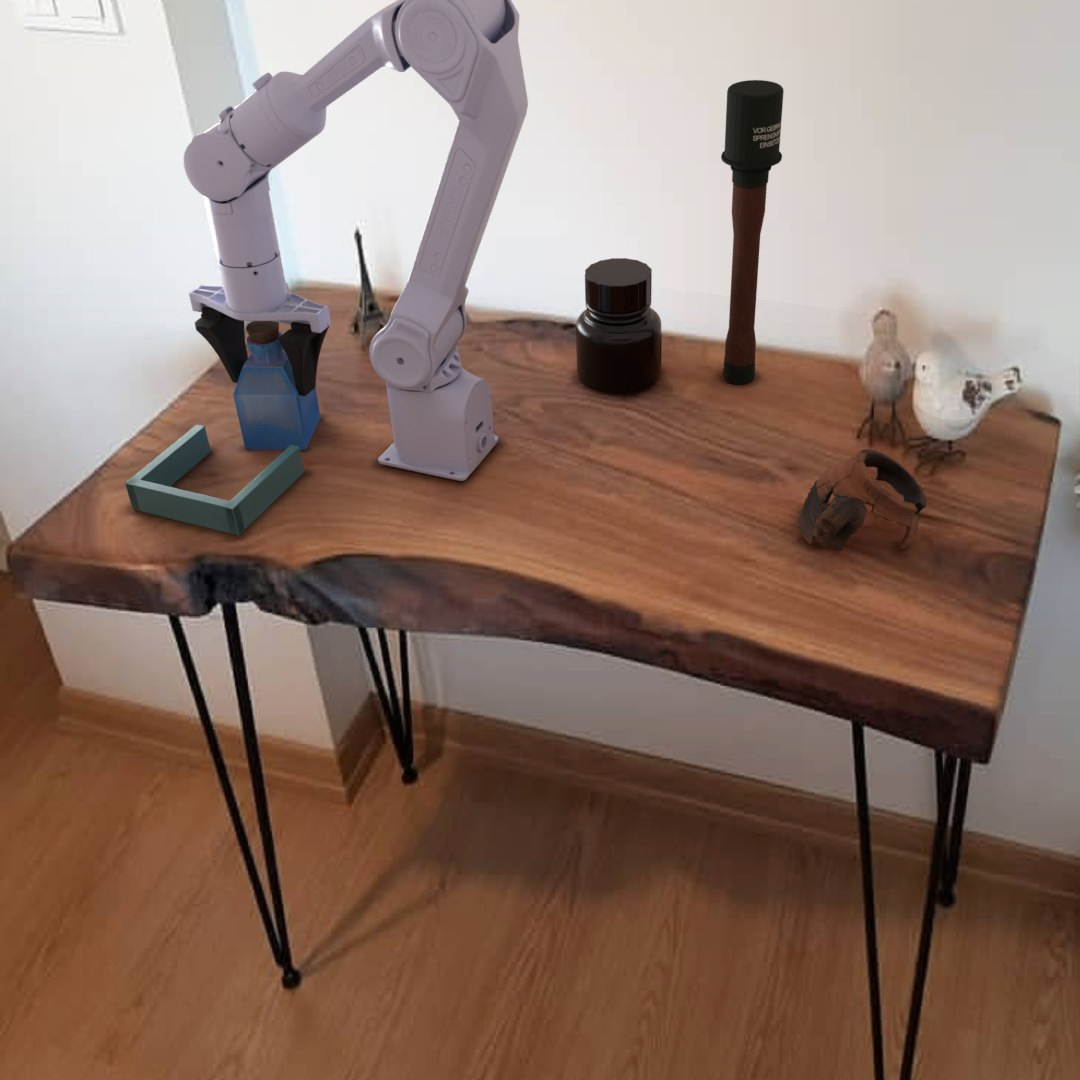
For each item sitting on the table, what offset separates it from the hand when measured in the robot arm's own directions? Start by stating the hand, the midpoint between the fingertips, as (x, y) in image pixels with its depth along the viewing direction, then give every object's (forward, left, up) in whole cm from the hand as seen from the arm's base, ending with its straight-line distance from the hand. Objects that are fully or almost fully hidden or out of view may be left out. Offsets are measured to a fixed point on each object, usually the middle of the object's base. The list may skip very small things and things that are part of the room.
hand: (274, 384), depth 121 cm
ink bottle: (-28, -22, -6) cm, 36 cm away
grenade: (-40, -26, -6) cm, 48 cm away
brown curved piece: (-57, -2, -6) cm, 57 cm away
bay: (0, +10, -6) cm, 12 cm away
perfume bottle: (0, 0, -6) cm, 6 cm away
